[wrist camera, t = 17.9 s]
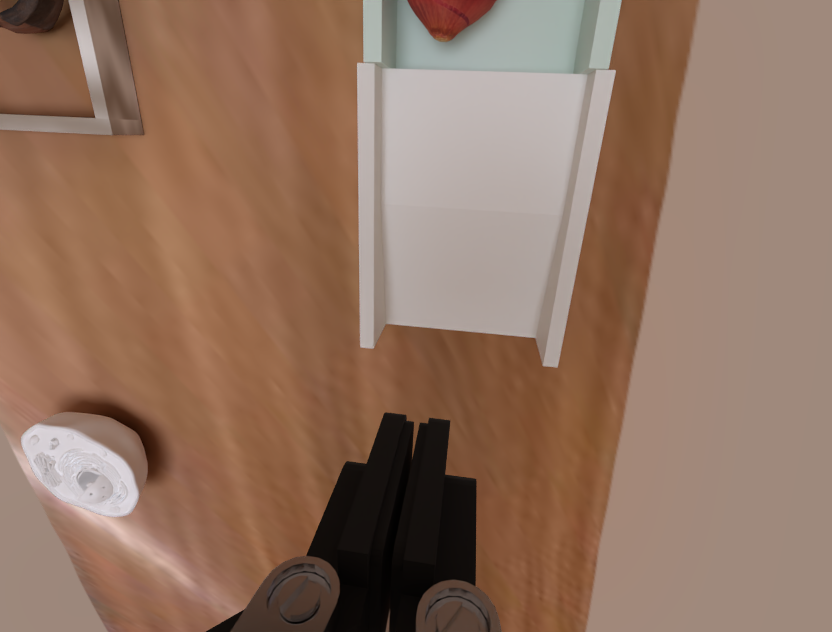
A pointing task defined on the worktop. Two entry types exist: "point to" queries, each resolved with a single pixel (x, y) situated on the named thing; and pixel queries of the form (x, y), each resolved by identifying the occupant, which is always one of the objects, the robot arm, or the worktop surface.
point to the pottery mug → (31, 16)
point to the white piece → (475, 198)
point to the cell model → (88, 461)
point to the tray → (497, 37)
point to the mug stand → (95, 77)
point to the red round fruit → (449, 15)
